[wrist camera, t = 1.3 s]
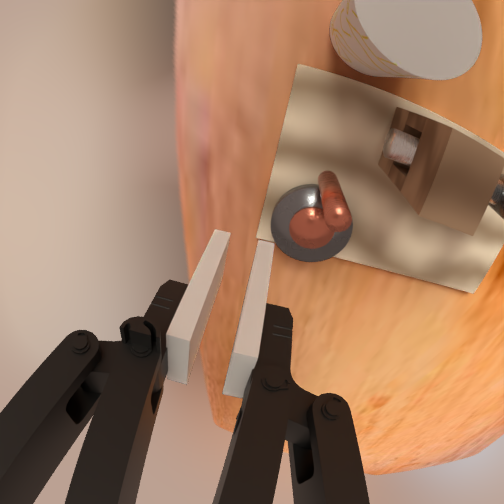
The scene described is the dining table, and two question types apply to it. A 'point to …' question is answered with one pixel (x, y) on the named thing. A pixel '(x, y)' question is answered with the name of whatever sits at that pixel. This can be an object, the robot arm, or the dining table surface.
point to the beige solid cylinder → (407, 37)
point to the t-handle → (403, 151)
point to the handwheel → (312, 220)
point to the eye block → (392, 180)
